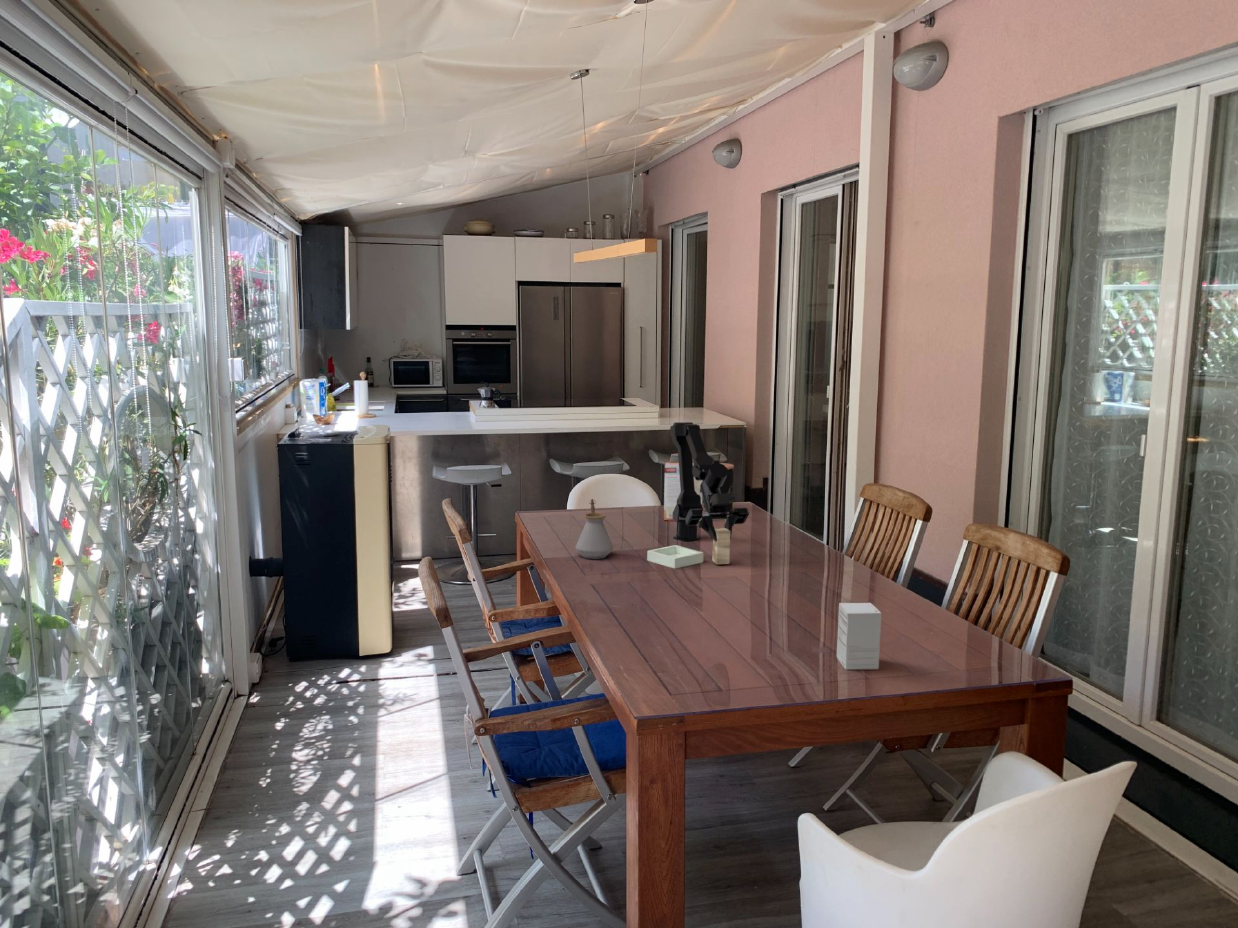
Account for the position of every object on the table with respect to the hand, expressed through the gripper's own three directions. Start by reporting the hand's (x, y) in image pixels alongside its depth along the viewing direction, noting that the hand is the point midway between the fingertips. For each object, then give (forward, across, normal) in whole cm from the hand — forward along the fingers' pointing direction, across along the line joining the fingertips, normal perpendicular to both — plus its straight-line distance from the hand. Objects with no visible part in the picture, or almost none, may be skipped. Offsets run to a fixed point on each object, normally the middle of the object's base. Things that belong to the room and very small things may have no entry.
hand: (723, 540), depth 280 cm
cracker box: (-39, +8, +51) cm, 64 cm away
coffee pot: (-10, -35, +22) cm, 42 cm away
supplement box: (+64, +1, -53) cm, 83 cm away
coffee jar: (-48, +26, +60) cm, 81 cm away
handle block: (+4, 0, +6) cm, 7 cm away
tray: (0, -13, +10) cm, 16 cm away
